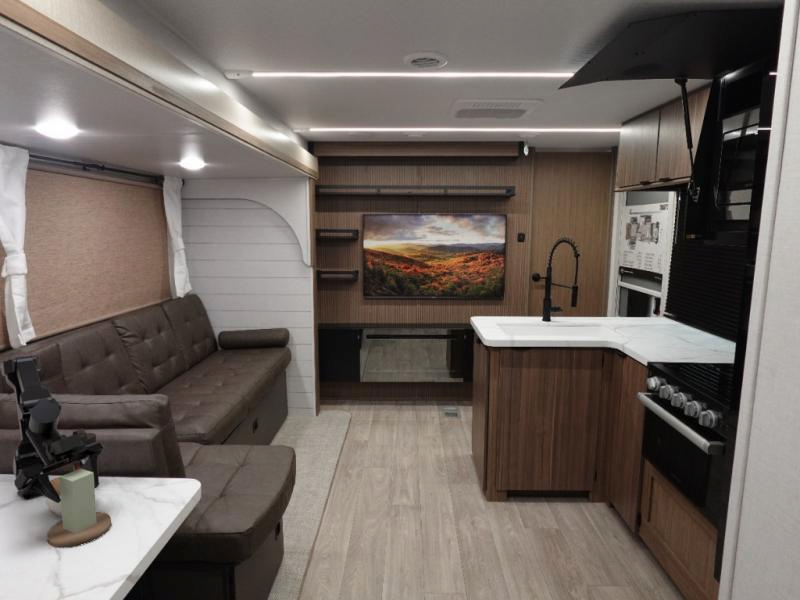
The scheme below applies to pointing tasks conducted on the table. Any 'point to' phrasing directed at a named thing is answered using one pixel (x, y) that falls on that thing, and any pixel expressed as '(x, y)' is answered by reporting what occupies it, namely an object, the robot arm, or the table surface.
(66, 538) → the disc
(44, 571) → the table surface
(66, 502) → the post
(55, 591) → the table surface
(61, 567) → the table surface
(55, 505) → the lidded jar
